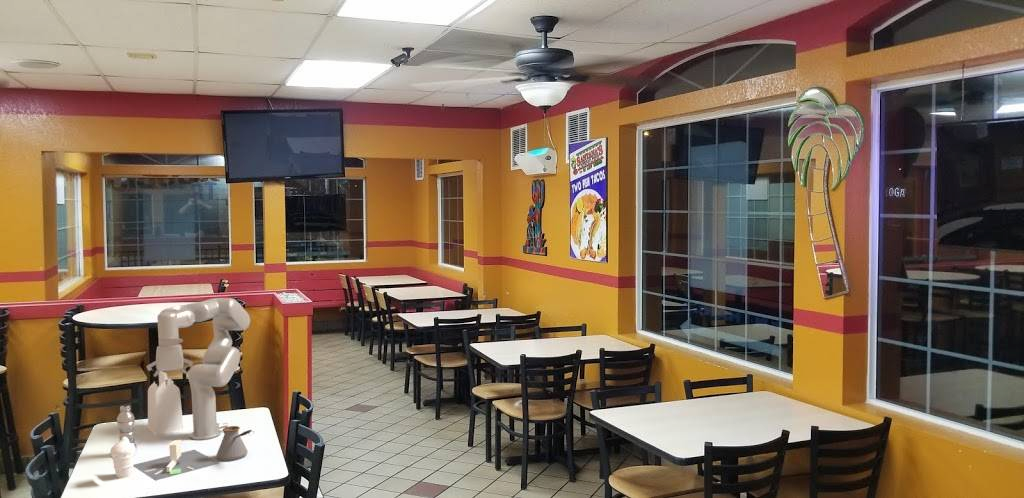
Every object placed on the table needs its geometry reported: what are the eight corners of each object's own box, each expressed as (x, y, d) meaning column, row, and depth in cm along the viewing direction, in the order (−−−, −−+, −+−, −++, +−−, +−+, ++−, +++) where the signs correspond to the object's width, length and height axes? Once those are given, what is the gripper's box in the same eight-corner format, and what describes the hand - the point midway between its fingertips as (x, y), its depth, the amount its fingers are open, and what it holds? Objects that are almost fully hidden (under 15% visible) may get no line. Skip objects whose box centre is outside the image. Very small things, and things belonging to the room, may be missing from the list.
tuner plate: (194, 453, 306) (194, 448, 306) (220, 466, 289) (220, 462, 289) (132, 468, 289) (131, 464, 289) (155, 484, 272) (155, 479, 272)
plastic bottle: (129, 457, 303) (126, 408, 302) (114, 456, 304) (112, 407, 303) (140, 451, 309) (137, 404, 308) (126, 451, 311) (123, 403, 309)
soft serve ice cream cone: (119, 485, 272) (117, 442, 271) (107, 481, 277) (104, 438, 276) (141, 477, 279) (139, 435, 278) (128, 474, 284) (126, 432, 283)
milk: (147, 429, 341) (144, 372, 340) (174, 423, 349) (171, 368, 347) (156, 434, 332) (153, 376, 331) (183, 428, 340) (180, 372, 339)
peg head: (175, 460, 292) (174, 440, 291) (181, 460, 292) (180, 439, 292) (164, 472, 279) (163, 451, 279) (171, 472, 279) (170, 450, 279)
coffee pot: (211, 461, 296) (209, 423, 295) (238, 453, 305) (236, 417, 304) (239, 473, 282) (237, 434, 281) (266, 464, 291) (265, 426, 290)
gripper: (192, 339, 312) (194, 379, 313) (145, 343, 306) (148, 384, 307) (191, 342, 305) (193, 383, 306) (144, 346, 299) (146, 388, 300)
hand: (171, 384), depth 306 cm, fingers open, 9 cm apart
